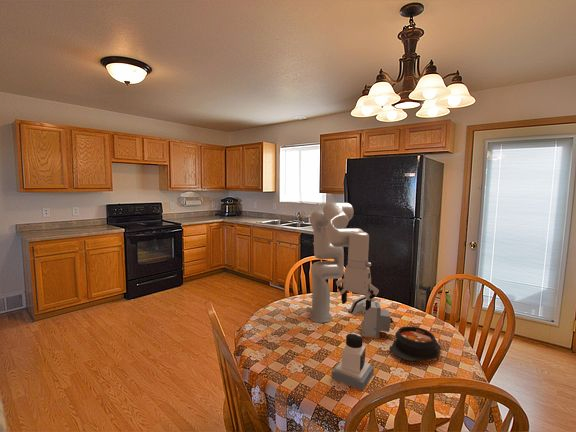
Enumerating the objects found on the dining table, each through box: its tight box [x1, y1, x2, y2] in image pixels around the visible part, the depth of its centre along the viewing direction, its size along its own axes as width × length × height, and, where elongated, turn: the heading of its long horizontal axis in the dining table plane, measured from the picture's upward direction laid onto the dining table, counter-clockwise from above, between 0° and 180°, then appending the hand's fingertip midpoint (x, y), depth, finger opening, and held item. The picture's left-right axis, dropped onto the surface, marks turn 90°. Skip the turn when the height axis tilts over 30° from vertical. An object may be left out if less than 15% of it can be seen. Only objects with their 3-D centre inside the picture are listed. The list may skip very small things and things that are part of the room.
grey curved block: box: [347, 295, 376, 315], centre depth 175 cm, size 17×5×10 cm, turn 125°
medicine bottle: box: [341, 332, 366, 373], centre depth 114 cm, size 7×7×12 cm
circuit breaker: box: [360, 301, 394, 339], centre depth 147 cm, size 8×14×15 cm, turn 78°
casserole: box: [388, 325, 442, 362], centre depth 132 cm, size 25×19×8 cm
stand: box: [331, 359, 375, 391], centre depth 114 cm, size 12×12×4 cm
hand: (355, 305), depth 118 cm, fingers open, 9 cm apart
